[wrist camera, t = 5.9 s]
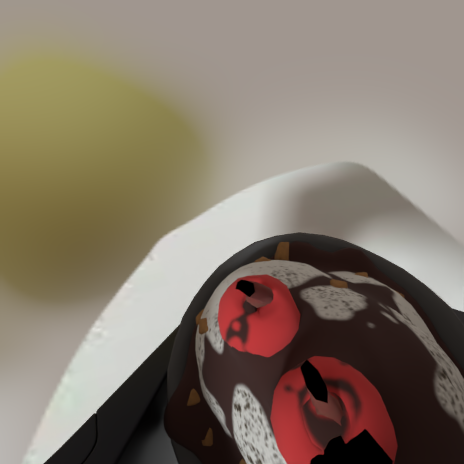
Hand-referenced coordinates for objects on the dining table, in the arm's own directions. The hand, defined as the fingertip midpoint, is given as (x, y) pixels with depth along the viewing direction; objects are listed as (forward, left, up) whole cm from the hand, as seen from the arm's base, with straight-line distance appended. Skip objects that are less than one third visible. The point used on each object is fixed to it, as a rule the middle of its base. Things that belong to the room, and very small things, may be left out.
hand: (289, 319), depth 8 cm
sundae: (-1, 0, -8) cm, 8 cm away
